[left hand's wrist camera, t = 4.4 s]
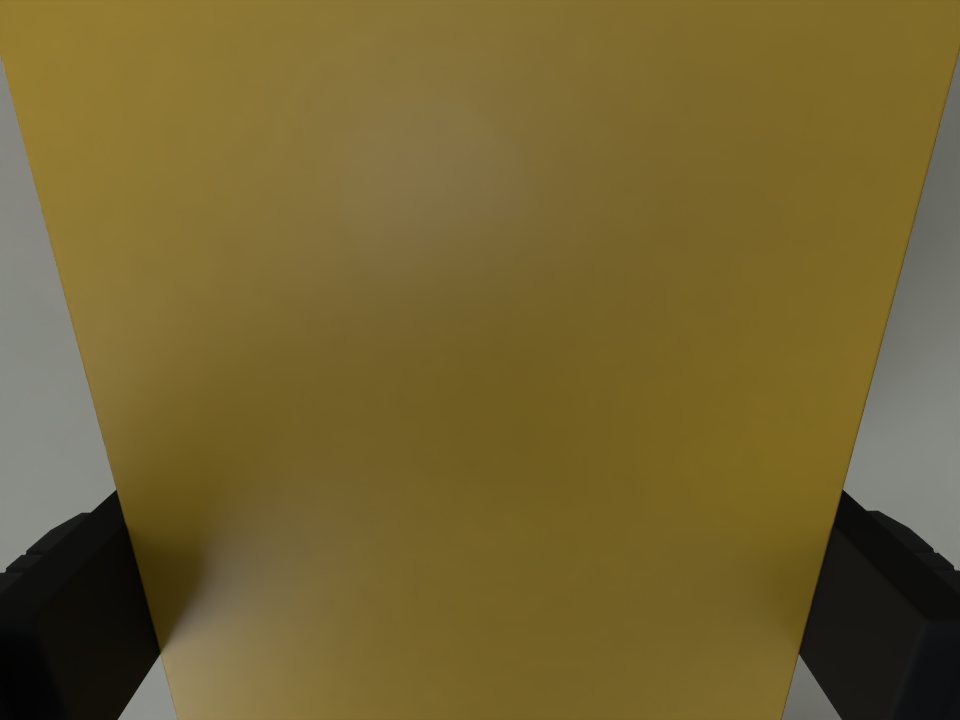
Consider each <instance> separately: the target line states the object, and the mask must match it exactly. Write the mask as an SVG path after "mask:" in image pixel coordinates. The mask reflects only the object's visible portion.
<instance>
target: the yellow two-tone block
mask: <svg viewBox="0 0 960 720" xmlns="http://www.w3.org/2000/svg"><path fill="white" fill-rule="evenodd" d="M959 51H960V0H0V55H1V58H2V62H3V66H4V70H5V73H6V77H7V81H8V85H9V88H10V92H11V96H12V100H13V103H14V107H15V111H16V115H17V118H18V122H19V126H20V130H21V133H22V137H23V141H24V145H25V148H26V152H27V156H28V160H29V163H30V167H31V171H32V175H33V178H34V182H35V186H36V190H37V193H38V197H39V201H40V205H41V208H42V212H43V216H44V220H45V223H46V227H47V231H48V235H49V238H50V242H51V246H52V250H53V253H54V257H55V261H56V265H57V268H58V272H59V276H60V279H61V283H62V287H63V291H64V294H65V298H66V302H67V306H68V309H69V313H70V317H71V321H72V324H73V328H74V332H75V336H76V339H77V343H78V347H79V351H80V354H81V358H82V362H83V366H84V369H85V373H86V377H87V381H88V384H89V388H90V392H91V396H92V399H93V403H94V407H95V411H96V414H97V418H98V422H99V426H100V429H101V433H102V437H103V441H104V444H105V448H106V452H107V456H108V459H109V463H110V467H111V471H112V474H113V478H114V482H115V486H116V489H117V493H118V497H119V501H120V504H121V508H122V512H123V516H124V519H125V523H126V527H127V531H128V534H129V538H130V542H131V546H132V549H133V553H134V557H135V561H136V564H137V568H138V572H139V576H140V579H141V583H142V587H143V591H144V594H145V598H146V602H147V605H148V609H149V613H150V617H151V620H152V624H153V628H154V632H155V635H156V639H157V643H158V647H159V650H160V654H161V658H162V662H163V665H164V669H165V673H166V677H167V680H168V684H169V688H170V692H171V695H172V699H173V703H174V707H175V710H176V714H177V718H178V720H781V719H782V715H783V711H784V708H785V704H786V700H787V696H788V693H789V689H790V685H791V681H792V678H793V674H794V670H795V666H796V663H797V659H798V655H799V651H800V648H801V644H802V640H803V636H804V633H805V629H806V625H807V621H808V618H809V614H810V610H811V606H812V603H813V599H814V595H815V591H816V588H817V584H818V580H819V576H820V572H821V569H822V565H823V561H824V557H825V554H826V550H827V546H828V542H829V539H830V535H831V531H832V527H833V524H834V520H835V516H836V512H837V509H838V505H839V501H840V497H841V494H842V490H843V486H844V482H845V479H846V475H847V471H848V467H849V464H850V460H851V456H852V452H853V449H854V445H855V441H856V437H857V434H858V430H859V426H860V422H861V419H862V415H863V411H864V407H865V404H866V400H867V396H868V392H869V388H870V385H871V381H872V377H873V373H874V370H875V366H876V362H877V358H878V355H879V351H880V347H881V343H882V340H883V336H884V332H885V328H886V325H887V321H888V317H889V313H890V310H891V306H892V302H893V298H894V295H895V291H896V287H897V283H898V280H899V276H900V272H901V268H902V265H903V261H904V257H905V253H906V250H907V246H908V242H909V238H910V235H911V231H912V227H913V223H914V219H915V216H916V212H917V208H918V204H919V201H920V197H921V193H922V189H923V186H924V182H925V178H926V174H927V171H928V167H929V163H930V159H931V156H932V152H933V148H934V144H935V141H936V137H937V133H938V129H939V126H940V122H941V118H942V114H943V111H944V107H945V103H946V99H947V96H948V92H949V88H950V84H951V81H952V77H953V73H954V69H955V66H956V62H957V58H958V54H959Z"/></svg>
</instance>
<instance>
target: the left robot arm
mask: <svg viewBox="0 0 960 720" xmlns="http://www.w3.org/2000/svg"><path fill="white" fill-rule="evenodd" d="M799 654H800V656H801V658H802V659H803V661H804V662H805V664H806V665H807V667H808V668H809V670H810V671H811V673H812V674H813V676H814V678H815V679H816V681H817V682H818V684H819V685H820V687H821V688H822V690H823V691H824V693H825V694H826V696H827V698H828V699H829V701H830V702H831V704H832V705H833V707H834V708H835V710H836V711H837V713H838V714H839V716H840V718H841V719H842V720H960V571H959V570H954V566H953V565H952V564H951V563H950V562H949V561H947V560H946V559H945V558H944V557H943V556H942V555H940V554H939V553H934V551H933V548H932V547H931V546H930V545H929V544H927V543H926V542H925V541H924V540H923V539H921V538H920V537H919V536H918V535H917V534H916V533H914V532H913V531H912V530H911V529H910V528H908V527H906V526H905V525H903V524H901V523H899V522H897V521H895V520H894V519H892V518H890V517H888V516H886V515H885V514H883V513H881V512H879V511H866V510H865V509H864V508H863V507H862V506H860V505H859V504H858V503H857V502H856V501H855V500H854V499H853V498H852V497H850V496H849V495H848V494H847V493H846V492H845V491H844V490H842V494H841V497H840V501H839V505H838V509H837V512H836V516H835V520H834V524H833V527H832V531H831V535H830V539H829V542H828V546H827V550H826V554H825V557H824V561H823V565H822V569H821V572H820V576H819V580H818V584H817V588H816V591H815V595H814V599H813V603H812V606H811V610H810V614H809V618H808V621H807V625H806V629H805V633H804V636H803V640H802V644H801V648H800V651H799ZM159 655H160V650H159V647H158V643H157V639H156V635H155V632H154V628H153V624H152V620H151V617H150V613H149V609H148V605H147V602H146V598H145V594H144V591H143V587H142V583H141V579H140V576H139V572H138V568H137V564H136V561H135V557H134V553H133V549H132V546H131V542H130V538H129V534H128V531H127V527H126V523H125V519H124V516H123V512H122V508H121V504H120V501H119V497H118V493H117V490H116V491H114V492H113V493H112V494H111V495H110V496H109V497H108V498H107V499H106V500H104V501H103V502H102V503H101V504H100V505H99V506H98V507H97V508H96V509H94V510H93V511H92V512H91V513H81V514H79V515H77V516H75V517H73V518H72V519H70V520H68V521H66V522H64V523H63V524H61V525H59V526H57V527H55V528H54V529H52V530H50V531H49V532H48V533H47V534H45V535H44V536H43V537H42V538H41V539H40V540H38V541H37V542H36V543H35V544H34V545H33V546H31V547H30V548H29V549H28V550H27V551H26V555H21V556H20V557H19V558H17V559H16V560H15V561H14V562H13V563H12V564H10V565H9V566H8V567H7V568H6V572H5V573H0V720H118V718H119V717H120V715H121V714H122V712H123V710H124V709H125V707H126V706H127V704H128V703H129V701H130V700H131V698H132V697H133V695H134V694H135V692H136V690H137V689H138V687H139V686H140V684H141V683H142V681H143V680H144V678H145V677H146V675H147V674H148V672H149V670H150V669H151V667H152V666H153V664H154V663H155V661H156V660H157V658H158V657H159Z"/></svg>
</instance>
